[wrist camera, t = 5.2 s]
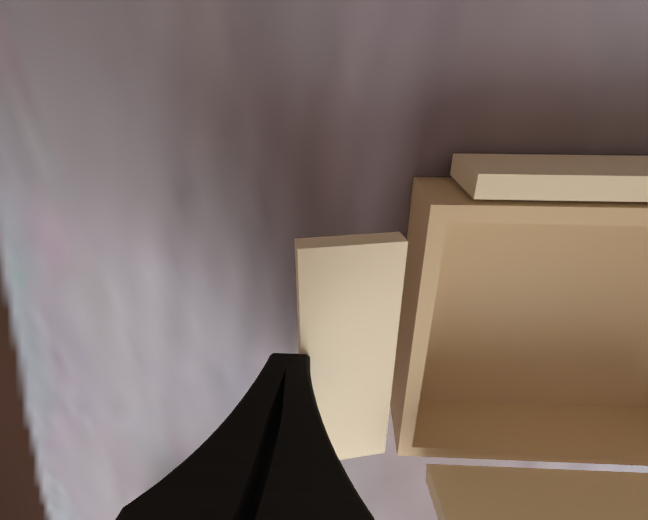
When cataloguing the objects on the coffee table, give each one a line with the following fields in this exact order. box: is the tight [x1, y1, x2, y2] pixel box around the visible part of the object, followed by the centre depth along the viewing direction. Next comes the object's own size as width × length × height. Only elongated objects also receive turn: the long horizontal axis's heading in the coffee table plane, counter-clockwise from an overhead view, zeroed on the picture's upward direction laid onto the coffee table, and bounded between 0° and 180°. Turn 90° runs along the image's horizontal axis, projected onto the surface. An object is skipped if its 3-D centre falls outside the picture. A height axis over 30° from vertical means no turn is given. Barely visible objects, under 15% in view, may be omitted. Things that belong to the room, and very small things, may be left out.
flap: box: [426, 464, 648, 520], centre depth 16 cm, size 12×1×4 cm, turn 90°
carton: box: [390, 153, 648, 466], centre depth 16 cm, size 16×13×3 cm
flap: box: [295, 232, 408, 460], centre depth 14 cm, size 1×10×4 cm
